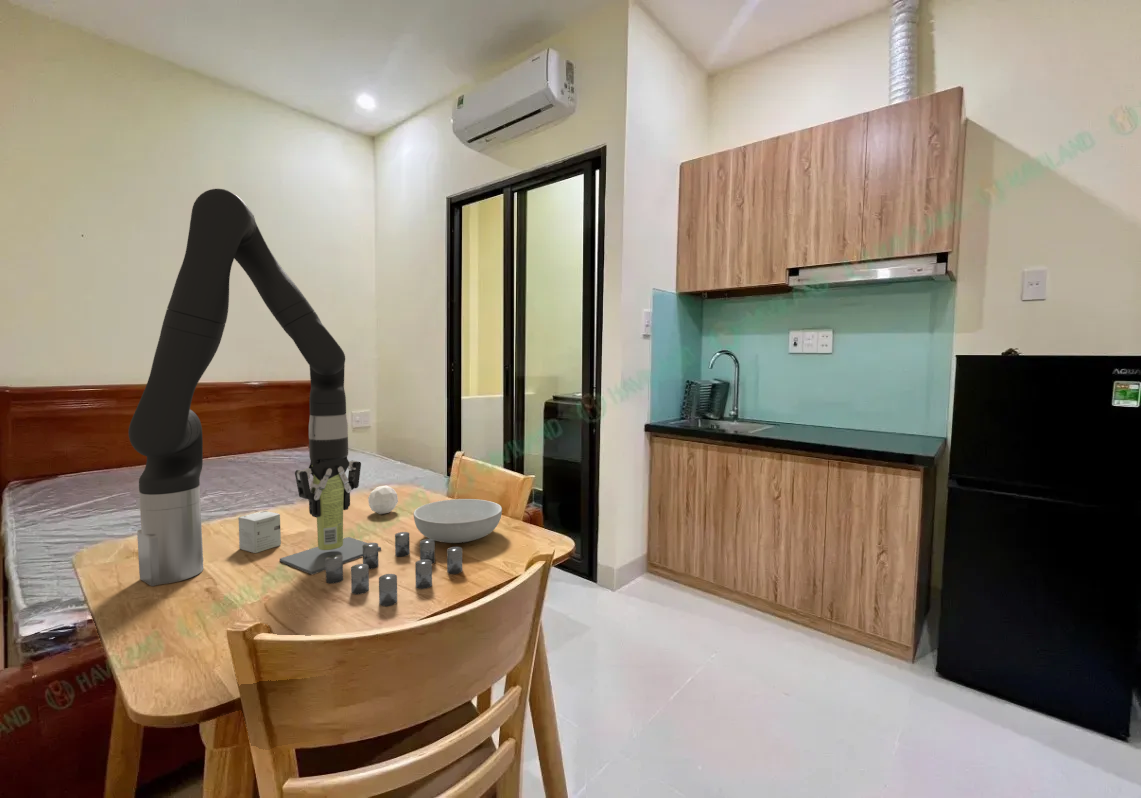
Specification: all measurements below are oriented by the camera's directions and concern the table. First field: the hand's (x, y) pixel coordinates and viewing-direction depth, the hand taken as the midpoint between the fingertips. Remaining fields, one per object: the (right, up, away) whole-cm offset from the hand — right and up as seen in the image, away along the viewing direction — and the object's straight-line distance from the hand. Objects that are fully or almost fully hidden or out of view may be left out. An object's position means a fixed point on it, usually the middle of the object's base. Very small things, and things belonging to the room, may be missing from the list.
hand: (330, 512), depth 110 cm
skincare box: (-18, -9, +5) cm, 21 cm away
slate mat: (0, -9, +1) cm, 10 cm away
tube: (0, -8, +1) cm, 8 cm away
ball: (0, -7, +32) cm, 33 cm away
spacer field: (+17, -10, -9) cm, 22 cm away
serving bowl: (+25, -9, +13) cm, 30 cm away
